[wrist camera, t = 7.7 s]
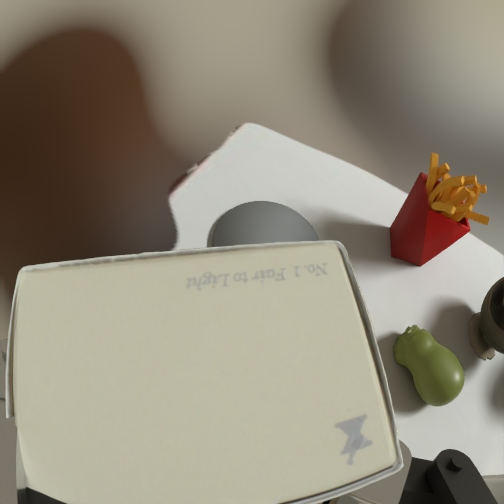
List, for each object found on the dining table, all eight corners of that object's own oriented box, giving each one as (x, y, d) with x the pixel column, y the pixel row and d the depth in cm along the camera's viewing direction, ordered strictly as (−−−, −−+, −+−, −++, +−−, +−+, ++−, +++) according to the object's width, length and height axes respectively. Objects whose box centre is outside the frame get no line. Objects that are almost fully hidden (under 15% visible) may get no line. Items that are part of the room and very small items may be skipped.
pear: (453, 408, 21) (397, 332, 26) (425, 420, 25) (376, 353, 30) (480, 375, 23) (429, 307, 28) (453, 391, 27) (408, 330, 32)
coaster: (300, 200, 38) (301, 197, 38) (333, 285, 33) (335, 282, 32) (205, 209, 36) (205, 206, 35) (224, 304, 30) (225, 302, 29)
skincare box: (257, 363, 16) (353, 229, 6) (272, 442, 13) (419, 467, 3) (141, 373, 14) (15, 253, 4) (150, 453, 12) (13, 505, 2)
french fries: (383, 219, 39) (439, 138, 27) (430, 237, 39) (490, 167, 26) (384, 274, 34) (458, 193, 22) (435, 290, 34) (512, 224, 22)
